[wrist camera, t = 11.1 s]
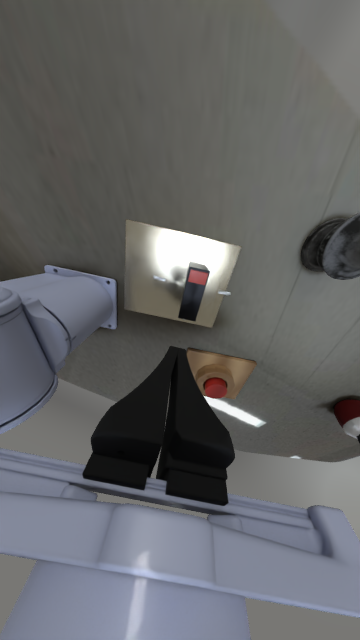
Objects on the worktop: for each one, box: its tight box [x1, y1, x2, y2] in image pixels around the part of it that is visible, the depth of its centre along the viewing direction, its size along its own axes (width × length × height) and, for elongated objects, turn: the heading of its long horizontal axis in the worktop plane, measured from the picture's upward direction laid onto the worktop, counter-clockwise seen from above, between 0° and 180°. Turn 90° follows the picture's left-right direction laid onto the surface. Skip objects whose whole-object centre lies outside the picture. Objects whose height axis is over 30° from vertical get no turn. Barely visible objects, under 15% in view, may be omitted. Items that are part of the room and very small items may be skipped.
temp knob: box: [178, 262, 210, 321], centre depth 15 cm, size 5×2×4 cm, turn 168°
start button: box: [204, 377, 227, 399], centre depth 24 cm, size 4×4×2 cm
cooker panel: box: [124, 219, 242, 328], centre depth 18 cm, size 13×10×3 cm
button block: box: [186, 348, 257, 399], centre depth 26 cm, size 12×10×2 cm
